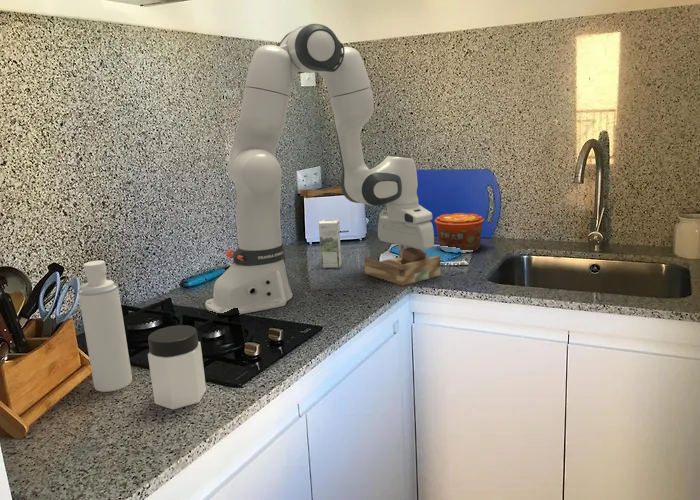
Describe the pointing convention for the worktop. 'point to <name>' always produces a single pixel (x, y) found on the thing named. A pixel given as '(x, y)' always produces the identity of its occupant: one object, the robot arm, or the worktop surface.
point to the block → (412, 255)
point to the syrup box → (330, 243)
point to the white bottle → (104, 329)
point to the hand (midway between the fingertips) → (405, 259)
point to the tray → (404, 269)
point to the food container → (460, 230)
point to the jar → (176, 366)
